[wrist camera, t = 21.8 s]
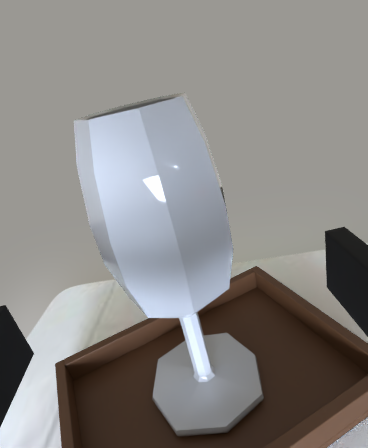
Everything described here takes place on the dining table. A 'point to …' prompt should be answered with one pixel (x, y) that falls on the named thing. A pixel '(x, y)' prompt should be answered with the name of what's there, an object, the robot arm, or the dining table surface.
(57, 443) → the dining table surface
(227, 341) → the wineglass
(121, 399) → the serving tray
